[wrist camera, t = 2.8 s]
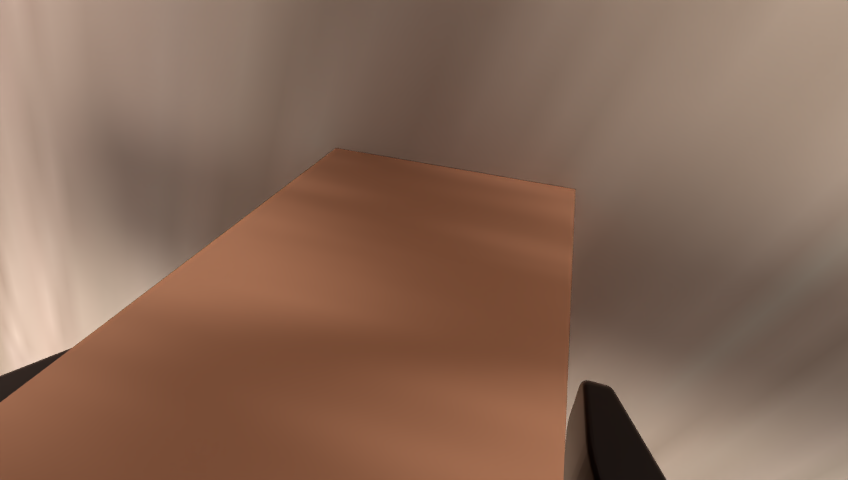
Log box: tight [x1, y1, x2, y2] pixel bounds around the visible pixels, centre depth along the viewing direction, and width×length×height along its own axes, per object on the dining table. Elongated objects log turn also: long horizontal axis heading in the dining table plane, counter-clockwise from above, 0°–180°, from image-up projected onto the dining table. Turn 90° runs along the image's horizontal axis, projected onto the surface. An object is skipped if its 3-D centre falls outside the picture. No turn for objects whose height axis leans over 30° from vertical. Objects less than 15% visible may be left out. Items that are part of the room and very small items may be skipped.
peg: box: [0, 148, 575, 480], centre depth 6 cm, size 4×4×9 cm
